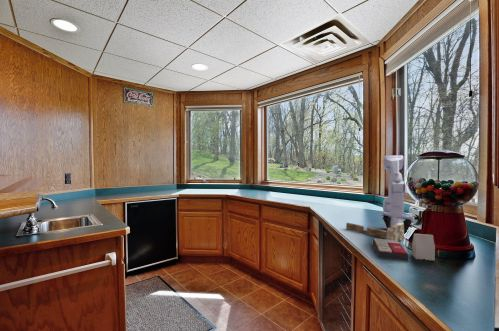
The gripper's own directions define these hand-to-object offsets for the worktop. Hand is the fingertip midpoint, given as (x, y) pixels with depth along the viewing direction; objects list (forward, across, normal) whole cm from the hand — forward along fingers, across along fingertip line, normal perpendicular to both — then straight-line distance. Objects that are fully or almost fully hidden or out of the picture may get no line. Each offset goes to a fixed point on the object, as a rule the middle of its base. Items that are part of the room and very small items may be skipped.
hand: (397, 232), depth 118 cm
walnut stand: (+4, -16, 0) cm, 17 cm away
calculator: (+5, +4, -19) cm, 20 cm away
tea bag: (+5, +15, -14) cm, 21 cm away
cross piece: (+4, 0, 0) cm, 4 cm away
